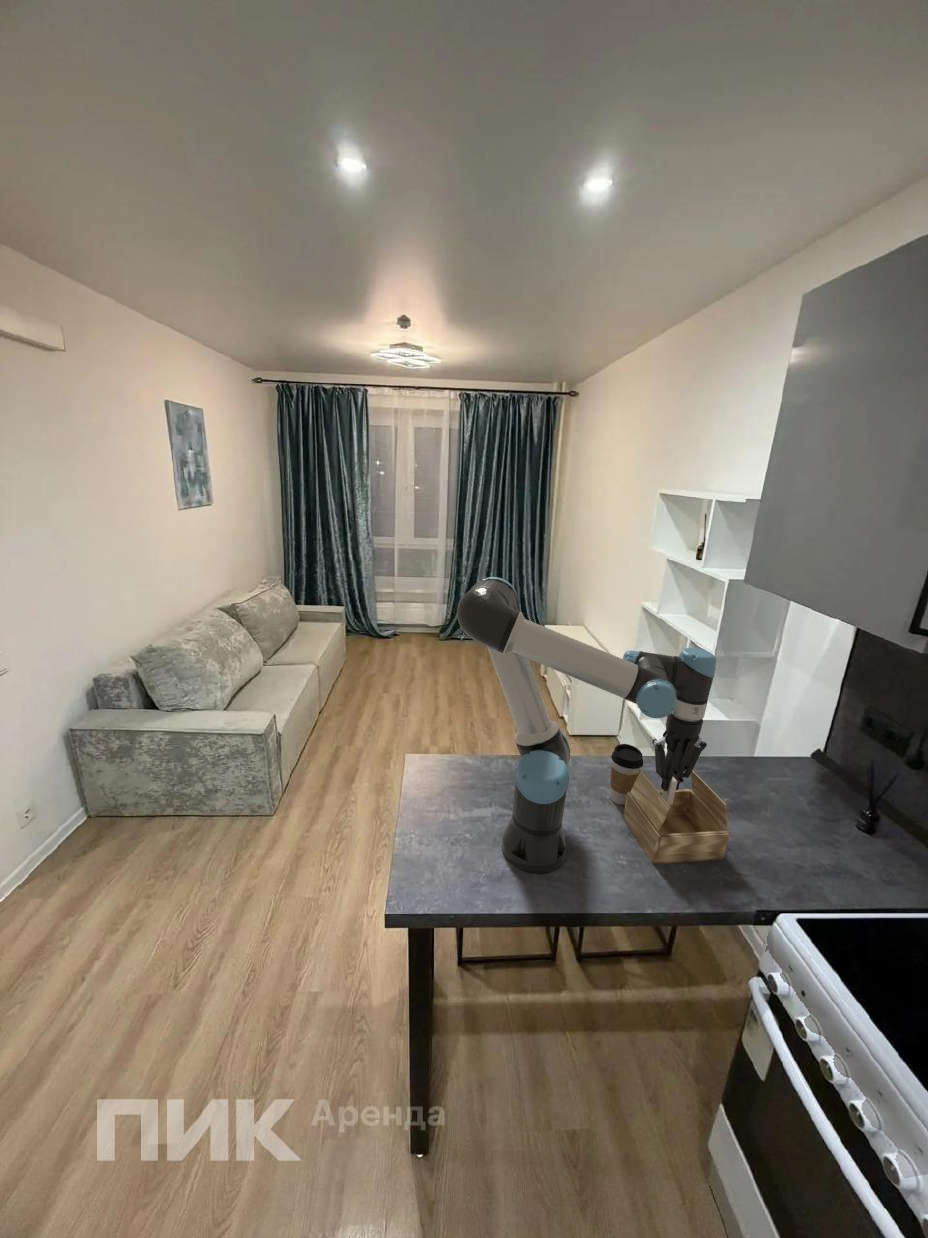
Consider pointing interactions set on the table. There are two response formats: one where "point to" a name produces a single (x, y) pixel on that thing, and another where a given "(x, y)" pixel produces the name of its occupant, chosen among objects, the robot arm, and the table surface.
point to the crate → (678, 831)
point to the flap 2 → (709, 798)
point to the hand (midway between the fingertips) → (666, 800)
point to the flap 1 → (650, 800)
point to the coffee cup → (624, 771)
